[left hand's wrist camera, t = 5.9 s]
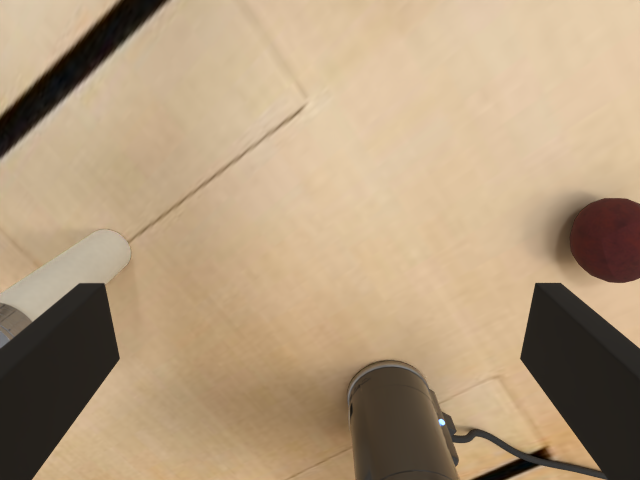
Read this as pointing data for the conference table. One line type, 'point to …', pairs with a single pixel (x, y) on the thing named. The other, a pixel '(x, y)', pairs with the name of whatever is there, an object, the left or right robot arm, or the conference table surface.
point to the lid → (11, 323)
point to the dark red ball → (608, 239)
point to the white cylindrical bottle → (69, 272)
